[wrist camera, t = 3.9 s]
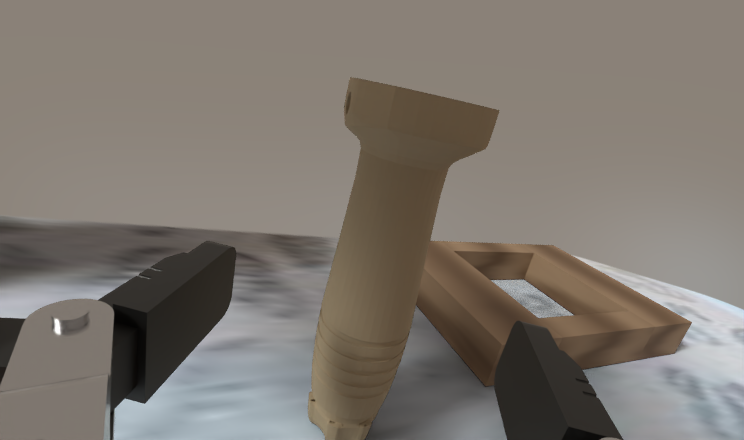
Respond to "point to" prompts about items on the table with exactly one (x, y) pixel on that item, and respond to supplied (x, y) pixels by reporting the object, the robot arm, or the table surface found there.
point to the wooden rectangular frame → (500, 312)
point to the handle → (384, 244)
